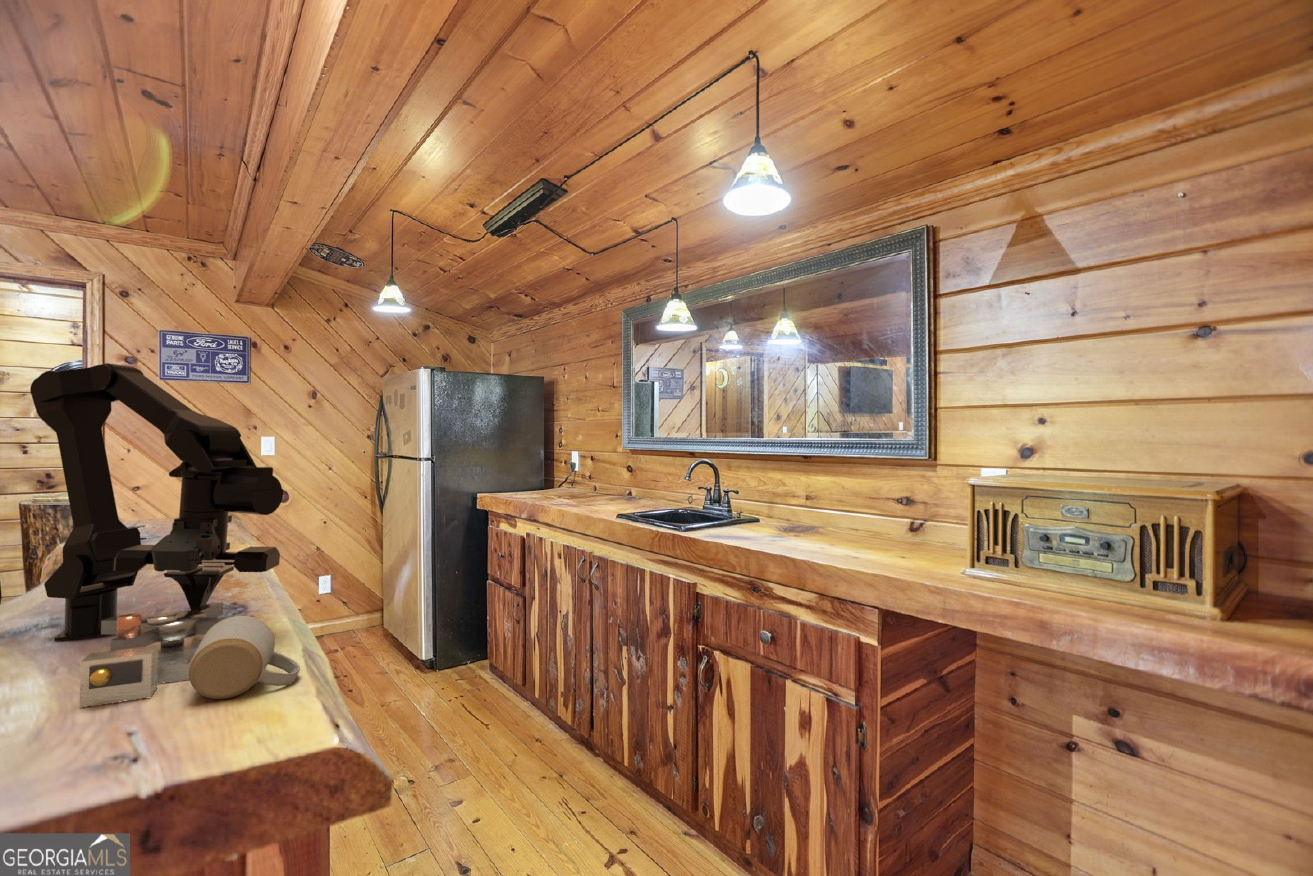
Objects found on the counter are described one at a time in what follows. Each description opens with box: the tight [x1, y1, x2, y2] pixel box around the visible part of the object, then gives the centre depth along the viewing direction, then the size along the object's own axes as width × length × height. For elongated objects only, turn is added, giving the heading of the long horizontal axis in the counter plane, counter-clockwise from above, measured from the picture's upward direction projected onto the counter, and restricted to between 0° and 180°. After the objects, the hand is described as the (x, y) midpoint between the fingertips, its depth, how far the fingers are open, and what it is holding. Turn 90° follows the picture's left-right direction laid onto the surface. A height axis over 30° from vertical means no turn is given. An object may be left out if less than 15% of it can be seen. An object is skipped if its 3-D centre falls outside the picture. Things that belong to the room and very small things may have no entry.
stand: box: [78, 635, 205, 709], centre depth 77 cm, size 24×12×5 cm, turn 29°
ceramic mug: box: [189, 615, 301, 700], centre depth 71 cm, size 11×8×8 cm
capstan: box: [101, 601, 228, 651], centre depth 79 cm, size 17×17×4 cm
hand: (196, 618), depth 87 cm, fingers closed
